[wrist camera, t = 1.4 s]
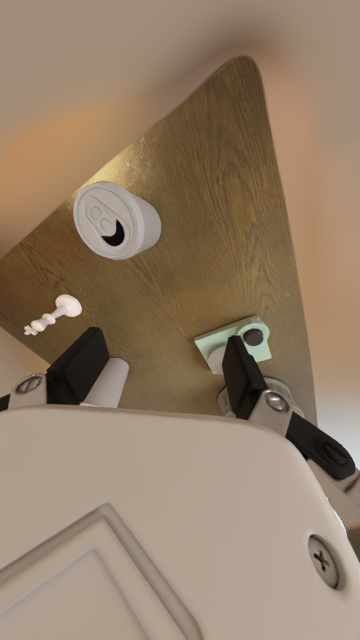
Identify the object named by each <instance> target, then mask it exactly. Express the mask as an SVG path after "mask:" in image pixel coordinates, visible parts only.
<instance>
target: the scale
mask: <svg viewBox="0 0 360 640" xmlns="http://www.w3.org/2000/svg"><path fill="white" fill-rule="evenodd" d="M250 329H257V330H259V331H260V332H261V334H262V335H263V338H264V339H263V342H262V343H261V344H260V345H258V346H249V345H248V344H247V343H246V341H245V339H244V334H245V332H247V331H248V330H250ZM269 334H270V333H269V330H268V327H267V326H266V325H265V323H263V322H262V321H260V318H259V316H258V315H257V314H256V315H254V316H251V317H248V318H246V319H243V320H240V321H238V322H235V323H232V324H230V325H227V326H224V327H221V328H219V329H216V330H213V331H211V332H208V333H205V334H203V335H200V336H197V337H194V342H195V343H196V345H197V347H198V348H199V350H200V352H201V353H202V355H203V357H204V358H205V360H206V362H207V363H208V357H209V355H210V354H211V353H212V352H213V351H214V350H216V349H217V348H220V347H223V346H226V345H227V341H228V337H231V335H240V336H241V338H242V340H243V342H244V345H245V347H246V349H247V351H248V353H249V354H251V355H252V356H253V357H254V359H255V361H256V362H259V361H263V360H266V359H270V358H272V357H271V354H270V351H269V347H268V344H267V339H268V336H269ZM212 372H213V371H212ZM213 373H214V374H217V373H215V372H213Z"/></svg>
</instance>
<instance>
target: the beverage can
mask: <svg viewBox="0 0 360 640" xmlns="http://www.w3.org/2000/svg"><path fill="white" fill-rule="evenodd" d="M73 214H74V221H75V225H76V228H77V230H78V233H79V235H80V236H81V238H82V239H83V241H84V242H85V243H86V245H87V246H88V247H89V248H90V249H92V250H93V251H94V252H96V253H97V254H99V255H101V256H104V257H107V258H110V259H114V260H123V259H127V258H130V257H132V256H134V255H136V254H138V253H140V252H142V251H144V250H146V249H148V248H150V247H152V246H153V245H155V244H156V242H157V241H158V239H159V237H160V234H161V221H160V218H159V215H158V213H157V211H156V210H155V208H154V207H153V206H152V205H151V204H149V203H148V202H146V201H144V200H143V199H141V198H139V197H138V196H136V195H134V194H133V193H131V192H129V191H127V190H126V189H124V188H122V187H121V186H119V185H117V184H115V183H112V182H107V181H100V182H96V183H93V184H90V185H87V186H85V187H84V188H83V189H81V191H80V192H79V193H78V195H77V196H76V199H75V202H74V208H73Z"/></svg>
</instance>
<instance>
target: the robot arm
mask: <svg viewBox="0 0 360 640" xmlns="http://www.w3.org/2000/svg"><path fill="white" fill-rule="evenodd" d="M109 357H110V356H109V352H108V349H107V346H106V342H105V339H104V335H103V332H102V330H101V329H100V328H98V327H89V328H88V329H87V330H86V331H85V332H84V333H83V334H82V335H81V336H80V337H79V338H78V339H77V340H76V341H75V342H74V343H73V344H72V345H71V346H70V347H69V348H68V349H67V350H66V351H65V352H64V353H63V354H62V355H61V356H60V357H59V358H58V359H57V360H56V361H55V362H54V363H53V364H52V365H51V366H50V367H49V368H48V369H47V373H46V374H45V375H44V374H41V373H38V374H33V375H30V376H27V377H25V378H24V379H22V380H20V381H19V382H18V383H17V384H16V385H15V386H14V387H13V388H12V391H11V394H8V395H6V396H4V397H1V398H0V640H360V471H359V470H358V469H357V468H356V467H355V463H354V461H353V459H352V457H351V456H350V454H349V453H348V451H347V450H346V449H345V448H344V447H343V446H342V445H341V444H339V443H338V442H337V441H336V440H334V439H333V438H331V437H330V436H329V435H327V434H326V433H324V432H323V431H321V430H320V429H318V428H317V427H316V426H314V425H313V424H311V423H310V422H308V421H307V420H305V419H304V418H303V417H301V416H300V415H298V414H297V413H295V412H294V411H293V407H292V404H291V402H290V401H289V399H288V398H287V397H286V396H285V395H283V394H282V393H281V392H279V391H277V390H273V389H269V388H268V386H267V384H266V382H265V380H264V377H263V375H262V373H261V371H260V369H259V367H258V365H257V363H256V361H255V359H254V357H253V356H252V355H251V354H249V353H248V351H247V349H246V347H245V345H244V342H243V340H242V338H241V336H240V335H231V337H228V341H227V345H226V349H225V353H224V357H223V361H222V370H223V374H224V379H225V383H226V387H227V392H228V396H229V400H230V405H231V409H232V412H233V413H234V414H235V415H236V418H231V417H223V416H212V415H202V414H189V413H177V412H164V411H150V410H137V409H123V408H109V407H94V406H80V403H81V402H83V401H84V400H85V399H86V397H87V395H88V394H89V392H90V390H91V389H92V387H93V385H94V384H95V382H96V380H97V379H98V377H99V376H100V374H101V372H102V371H103V369H104V367H105V366H106V364H107V362H108V361H109ZM327 498H328V499H327ZM331 506H332V507H331ZM332 508H333V509H334V510H335V511H336V512H337V514H338V516H339V517H340V518H341V520H342V522H343V524H344V526H345V529H346V532H347V536H346V534H345V532H344V530H343V528H342V526H341V525H340V523H339V521H338V519H337V517H336V515H335V513H334V511H333V509H332ZM309 536H310V537H309ZM347 537H348V538H347Z"/></svg>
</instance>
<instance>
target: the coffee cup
mask: <svg viewBox="0 0 360 640" xmlns="http://www.w3.org/2000/svg"><path fill="white" fill-rule="evenodd" d="M128 371H129V365H128V364H127V363H126V362H125V361H124V360H122V359H120V358H109V361H108V362H107V364H106V366H105V367H104V369H103V371H102V372H101V374H100V376H99V377H98V379H97V380H96V382H95V384H94V385H93V387H92V389H91V390H90V392H89V394H88V395H87V397H86V399H85V400H84V401H83V402H81V403H80V406H94V407H109V408H117V406H118V402H119V399H120V396H121V393H122V390H123V387H124V383H125V380H126V377H127V374H128Z"/></svg>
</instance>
